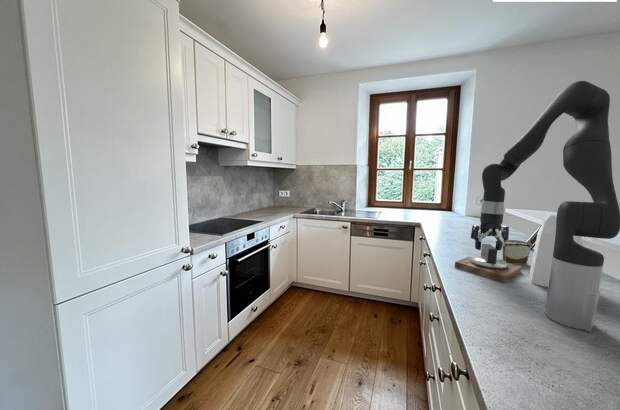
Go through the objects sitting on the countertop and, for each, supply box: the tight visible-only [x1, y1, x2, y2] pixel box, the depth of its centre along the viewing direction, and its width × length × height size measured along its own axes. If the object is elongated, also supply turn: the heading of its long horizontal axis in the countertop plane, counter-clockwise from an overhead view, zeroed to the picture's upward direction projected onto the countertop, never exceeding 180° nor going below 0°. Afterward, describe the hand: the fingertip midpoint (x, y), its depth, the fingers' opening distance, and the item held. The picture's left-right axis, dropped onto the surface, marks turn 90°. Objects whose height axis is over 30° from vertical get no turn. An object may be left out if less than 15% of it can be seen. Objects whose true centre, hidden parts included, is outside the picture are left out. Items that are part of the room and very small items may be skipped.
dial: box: [469, 243, 507, 269], centre depth 103 cm, size 13×13×8 cm
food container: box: [502, 239, 533, 265], centre depth 114 cm, size 12×6×10 cm, turn 84°
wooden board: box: [454, 254, 522, 283], centre depth 104 cm, size 18×18×3 cm
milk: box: [528, 213, 583, 288], centre depth 90 cm, size 12×12×26 cm
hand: (488, 249), depth 103 cm, fingers open, 8 cm apart
